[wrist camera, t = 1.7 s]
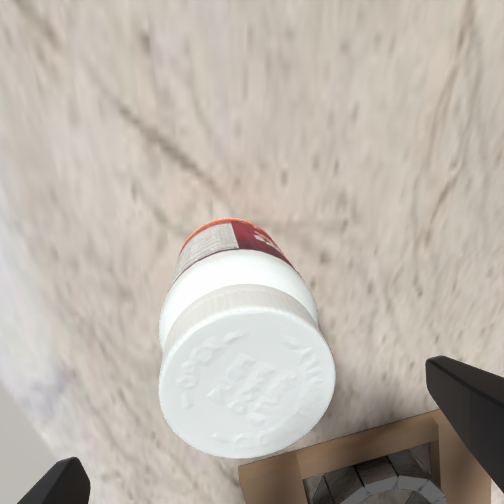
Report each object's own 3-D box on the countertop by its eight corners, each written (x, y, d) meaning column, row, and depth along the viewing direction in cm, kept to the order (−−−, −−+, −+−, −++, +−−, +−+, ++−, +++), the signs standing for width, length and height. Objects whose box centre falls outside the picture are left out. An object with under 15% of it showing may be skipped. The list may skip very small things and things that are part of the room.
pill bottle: (295, 273, 21) (391, 400, 10) (217, 327, 21) (227, 506, 10) (240, 194, 19) (285, 243, 8) (156, 254, 19) (88, 379, 8)
